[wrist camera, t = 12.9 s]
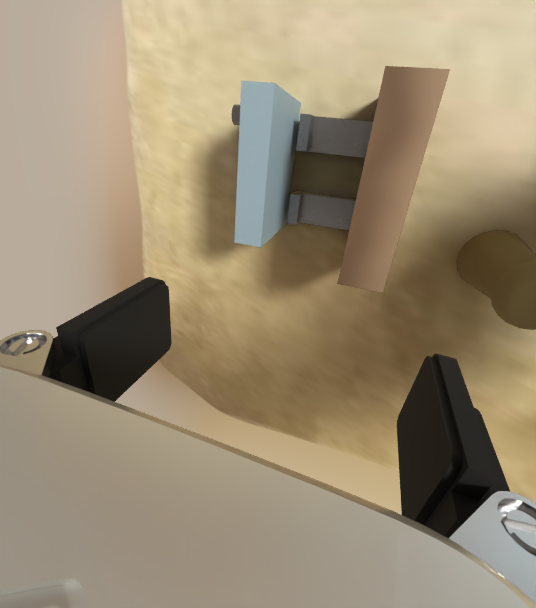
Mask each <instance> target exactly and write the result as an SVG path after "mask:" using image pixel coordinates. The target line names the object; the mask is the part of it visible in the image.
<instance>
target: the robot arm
mask: <svg viewBox="0 0 536 608" xmlns="http://www.w3.org/2000/svg"><path fill="white" fill-rule="evenodd" d="M56 329H57V332H58V336H57V337H55V338H54V339H53V336H52V335H51V334H50V333H48V332H46V331H42V330H28V331H22V332H19V333H15V334H12V335H10V336H7V337H5V338H3V339H2V340H0V608H536V503H534V502H533V501H531V500H529V499H527V498H525V497H523V496H521V495H519V494H516V493H513V492H510V490H509V487H508V485H507V482H506V479H505V477H504V474H503V471H502V469H501V466H500V463H499V461H498V458H497V455H496V453H495V450H494V447H493V445H492V442H491V439H490V437H489V434H488V431H487V429H486V426H485V423H484V421H483V418H482V415H481V413H480V412H479V410H477V409H476V408H474V407H473V404H472V401H471V399H470V396H469V393H468V390H467V387H466V385H465V382H464V379H463V376H462V373H461V371H460V368H459V365H458V362H457V360H456V359H454V358H451V357H447V356H443V355H439V354H434V355H433V357H429V356H427V357H426V358H425V360H424V362H423V364H422V366H421V369H420V371H419V373H418V375H417V377H416V379H415V381H414V384H413V386H412V388H411V390H410V392H409V394H408V396H407V399H406V401H405V403H404V405H403V407H402V409H401V412H400V414H399V416H398V420H397V436H398V454H399V472H400V489H401V506H402V515H400V514H398V513H396V512H393V511H391V510H389V509H386V508H384V507H381V506H379V505H377V504H374V503H372V502H369V501H367V500H364V499H362V498H360V497H357V496H355V495H352V494H350V493H348V492H345V491H343V490H340V489H337V488H335V487H333V486H330V485H328V484H325V483H323V482H320V481H318V480H315V479H313V478H310V477H307V476H305V475H302V474H300V473H297V472H294V471H292V470H290V469H287V468H284V467H282V466H279V465H277V464H274V463H272V462H269V461H267V460H264V459H262V458H259V457H257V456H254V455H251V454H249V453H246V452H244V451H241V450H239V449H236V448H234V447H231V446H228V445H226V444H223V443H220V442H218V441H215V440H213V439H210V438H208V437H205V436H202V435H200V434H197V433H195V432H192V431H190V430H187V429H184V428H182V427H179V426H177V425H174V424H171V423H169V422H166V421H163V420H161V419H158V418H156V417H153V416H150V415H148V414H145V413H142V412H140V411H137V410H135V409H132V408H129V407H127V406H124V405H121V404H118V403H116V402H115V401H116V400H117V399H118V398H119V397H120V396H121V395H122V394H123V393H124V392H125V391H126V390H127V389H128V388H129V387H130V386H132V385H133V384H134V383H135V382H136V381H137V380H138V379H139V378H140V377H141V376H142V375H143V374H144V373H145V372H146V371H147V370H148V369H149V368H151V367H152V365H154V364H155V363H156V362H157V361H158V360H159V359H160V358H161V357H162V356H163V355H164V354H165V353H166V352H167V351H168V350H169V349H170V346H171V326H170V305H169V288H168V286H167V285H166V284H165V282H164V281H163V280H159V279H155V278H151V277H148V278H146V279H144V280H142V281H140V282H138V283H136V284H135V285H133V286H131V287H129V288H127V289H126V290H124V291H122V292H120V293H118V294H117V295H115V296H113V297H111V298H109V299H107V300H106V301H104V302H102V303H100V304H98V305H96V306H95V307H93V308H91V309H89V310H88V311H85V312H84V313H82V314H80V315H78V316H77V317H75V318H73V319H71V320H69V321H67V322H65V323H64V324H62V325H60V326H58V327H57V328H56Z"/></svg>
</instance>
